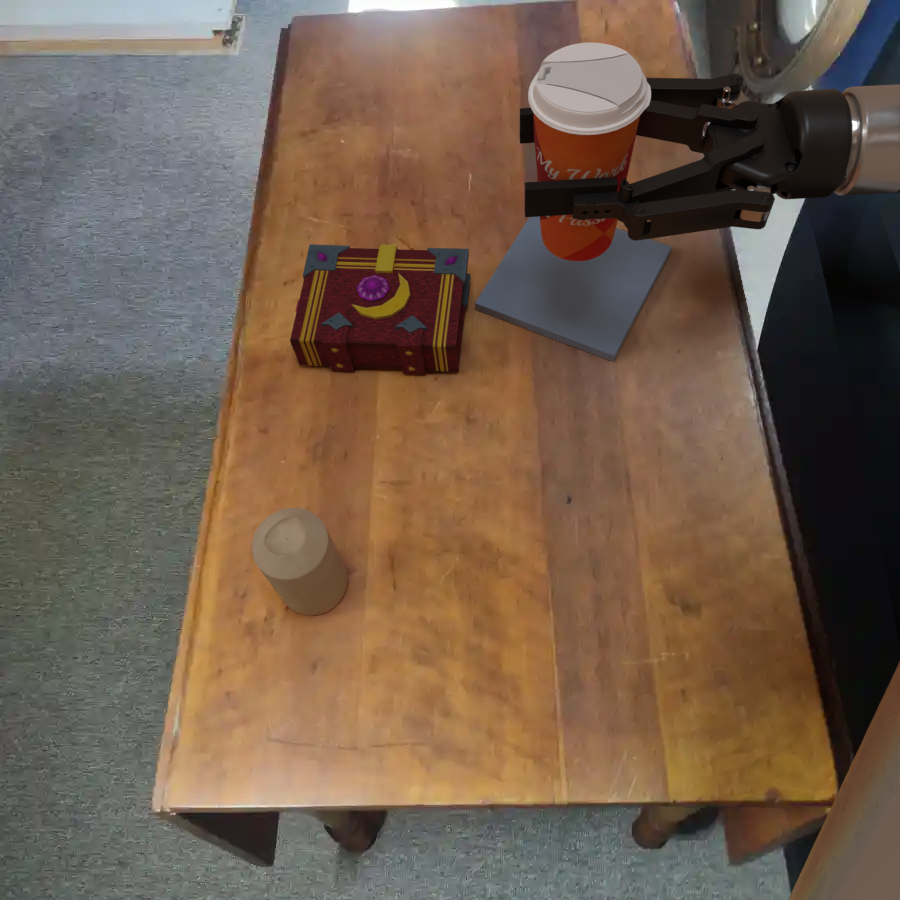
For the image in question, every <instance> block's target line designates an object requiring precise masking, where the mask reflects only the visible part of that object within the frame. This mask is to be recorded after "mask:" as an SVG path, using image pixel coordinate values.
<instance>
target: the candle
mask: <svg viewBox="0 0 900 900" xmlns="http://www.w3.org/2000/svg"><path fill="white" fill-rule="evenodd" d="M334 543H335V542H334V541H333V540H332V537H331V535H330V533H329V531H328V528H327V526H326V525H325V523H324V522H323V520H322V519H321V518H320V517H319V516H318V515H317V514H316V513H314V512H313V511H311V510H308V509H306V508H302V507H287V508H283V509H279V510H277V511H275V512H273V513H271V514H270V515H268V516H267V517H266V518H265V519H264V520H263V521H262V522H261V523H260V524H259V525H258V527H257V528H256V530H255V532H254V534H253V537H252V540H251V555H252V559H253V561H254V564H255V566H257V569H259V571H260V572H261V573H262V574H263V576H264V577H265V579H266V580H267V581H268V582H269V584H270V585H271V587H272V588H273V590H274V591H275V592H276V593H277V595H278V596H279V597H280V599H281V600H282V602H283V603H284V604H285V605H286V606H287V608H289V609H290V610H292V611H293V612H295V613H296V614H300V615H303V616H307V617H308V616H310V617H311V616H312V617H313V616H319V615H323V614H326V613H327V612H329V611H331V610H333V609H334V608H335V607H336V606H337V605H339V603H340V602H341V601H342V599H343V598H344V596H345V594H346V591H347V587H348V572H347V568H346V566H345V563H344V562H343V559H342V557H341V555H340V553H339V552H338V549H337V547H336V545H335V544H334Z"/></svg>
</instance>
